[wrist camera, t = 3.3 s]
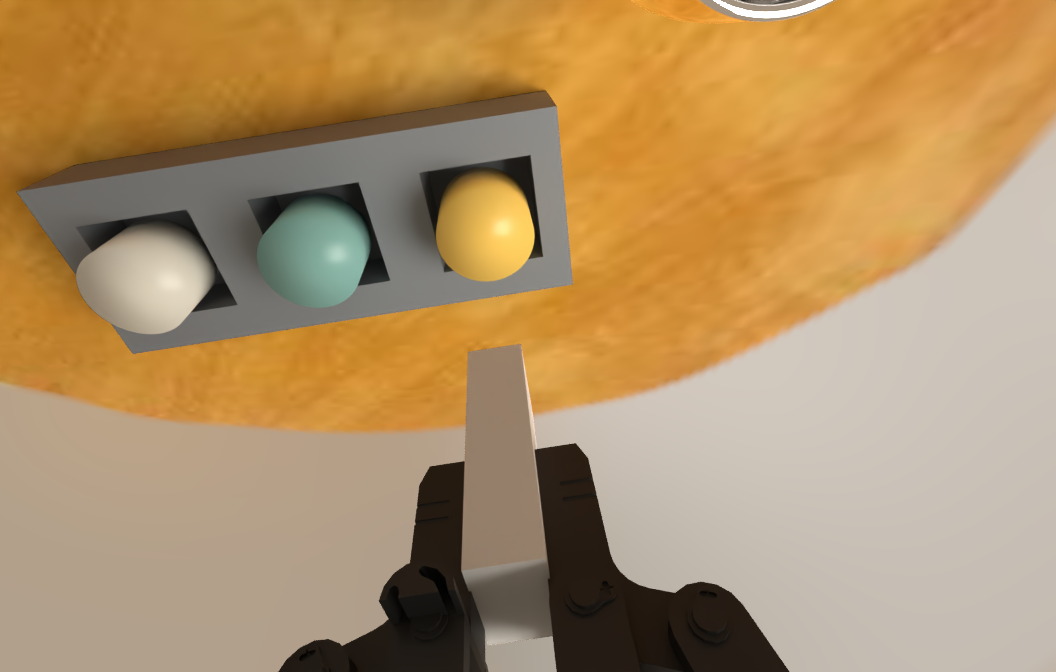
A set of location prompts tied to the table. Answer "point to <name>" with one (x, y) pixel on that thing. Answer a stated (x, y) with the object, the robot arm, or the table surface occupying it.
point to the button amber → (484, 225)
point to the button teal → (315, 251)
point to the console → (331, 168)
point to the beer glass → (731, 9)
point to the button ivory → (147, 276)
